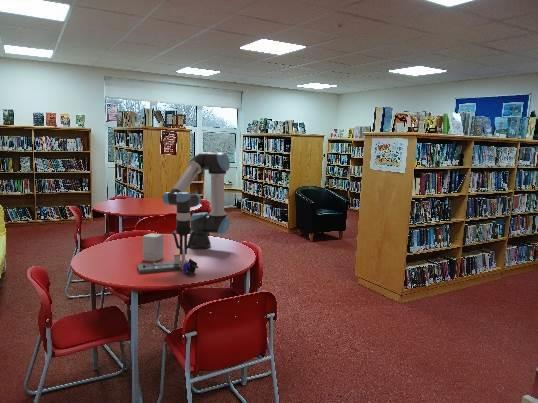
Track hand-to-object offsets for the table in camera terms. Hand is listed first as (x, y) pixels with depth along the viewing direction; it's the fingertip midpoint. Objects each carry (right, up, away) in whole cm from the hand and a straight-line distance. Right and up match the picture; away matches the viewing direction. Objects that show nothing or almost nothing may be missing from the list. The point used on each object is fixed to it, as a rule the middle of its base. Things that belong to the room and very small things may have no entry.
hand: (183, 259), depth 236 cm
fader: (-3, -2, -1) cm, 4 cm away
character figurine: (+5, -6, -11) cm, 14 cm away
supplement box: (-21, -2, +14) cm, 25 cm away
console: (-10, -4, -3) cm, 11 cm away
